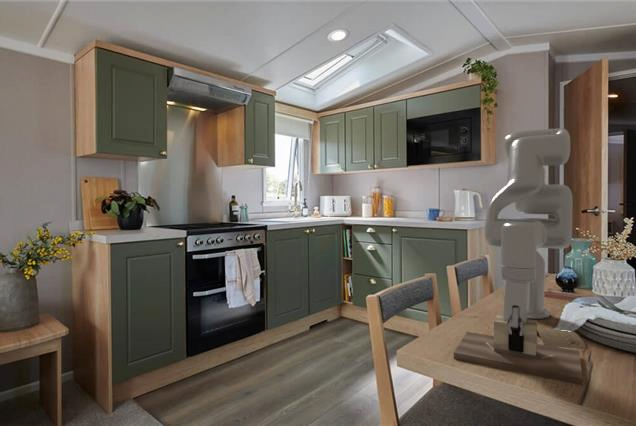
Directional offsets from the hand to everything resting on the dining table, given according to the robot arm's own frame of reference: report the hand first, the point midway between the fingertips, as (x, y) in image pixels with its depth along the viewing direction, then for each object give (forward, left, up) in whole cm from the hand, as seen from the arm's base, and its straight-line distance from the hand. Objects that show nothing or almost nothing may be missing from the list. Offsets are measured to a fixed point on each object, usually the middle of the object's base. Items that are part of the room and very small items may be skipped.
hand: (516, 346), depth 94 cm
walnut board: (0, 0, -3) cm, 3 cm away
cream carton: (0, 0, -1) cm, 1 cm away
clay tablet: (-19, +8, -4) cm, 21 cm away
